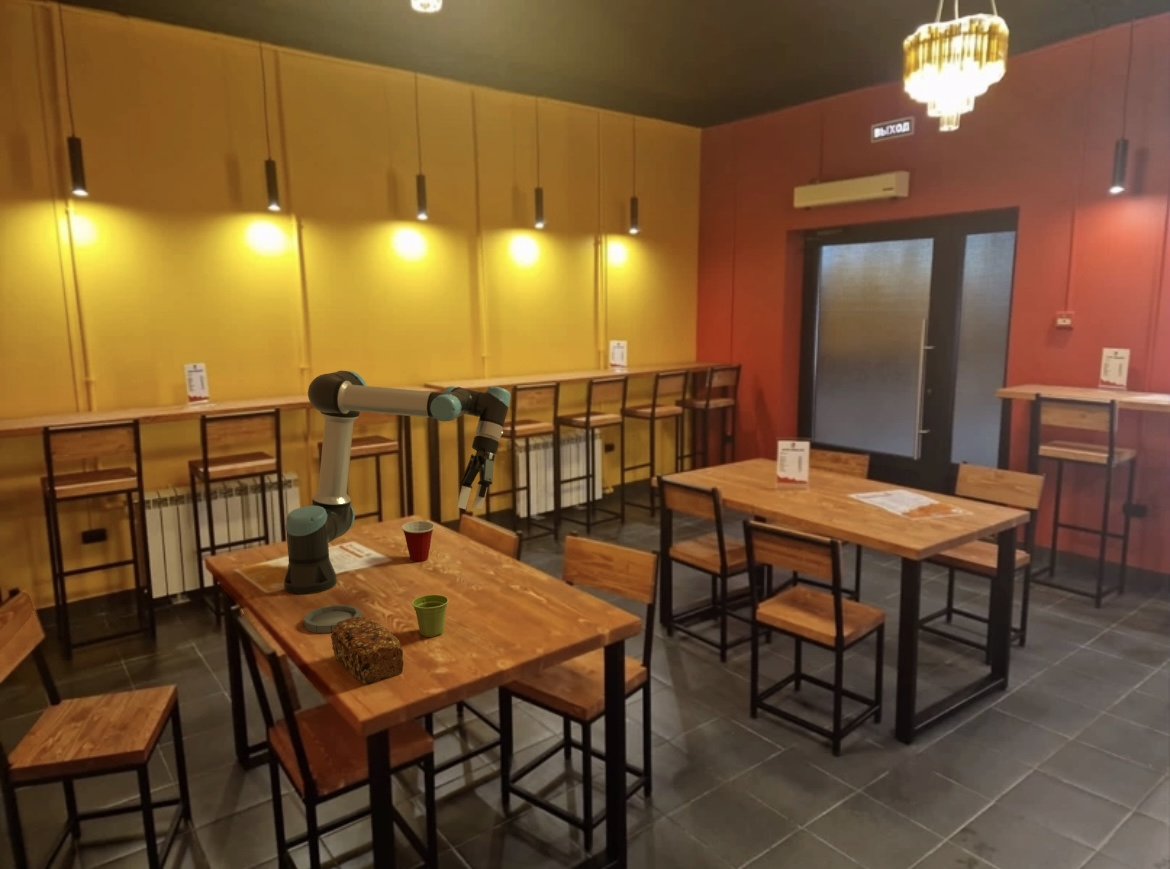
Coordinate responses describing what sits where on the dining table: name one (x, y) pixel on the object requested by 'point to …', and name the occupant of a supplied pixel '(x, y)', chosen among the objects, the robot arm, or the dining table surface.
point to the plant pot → (430, 614)
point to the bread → (367, 649)
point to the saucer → (329, 617)
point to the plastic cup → (418, 539)
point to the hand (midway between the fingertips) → (468, 508)
